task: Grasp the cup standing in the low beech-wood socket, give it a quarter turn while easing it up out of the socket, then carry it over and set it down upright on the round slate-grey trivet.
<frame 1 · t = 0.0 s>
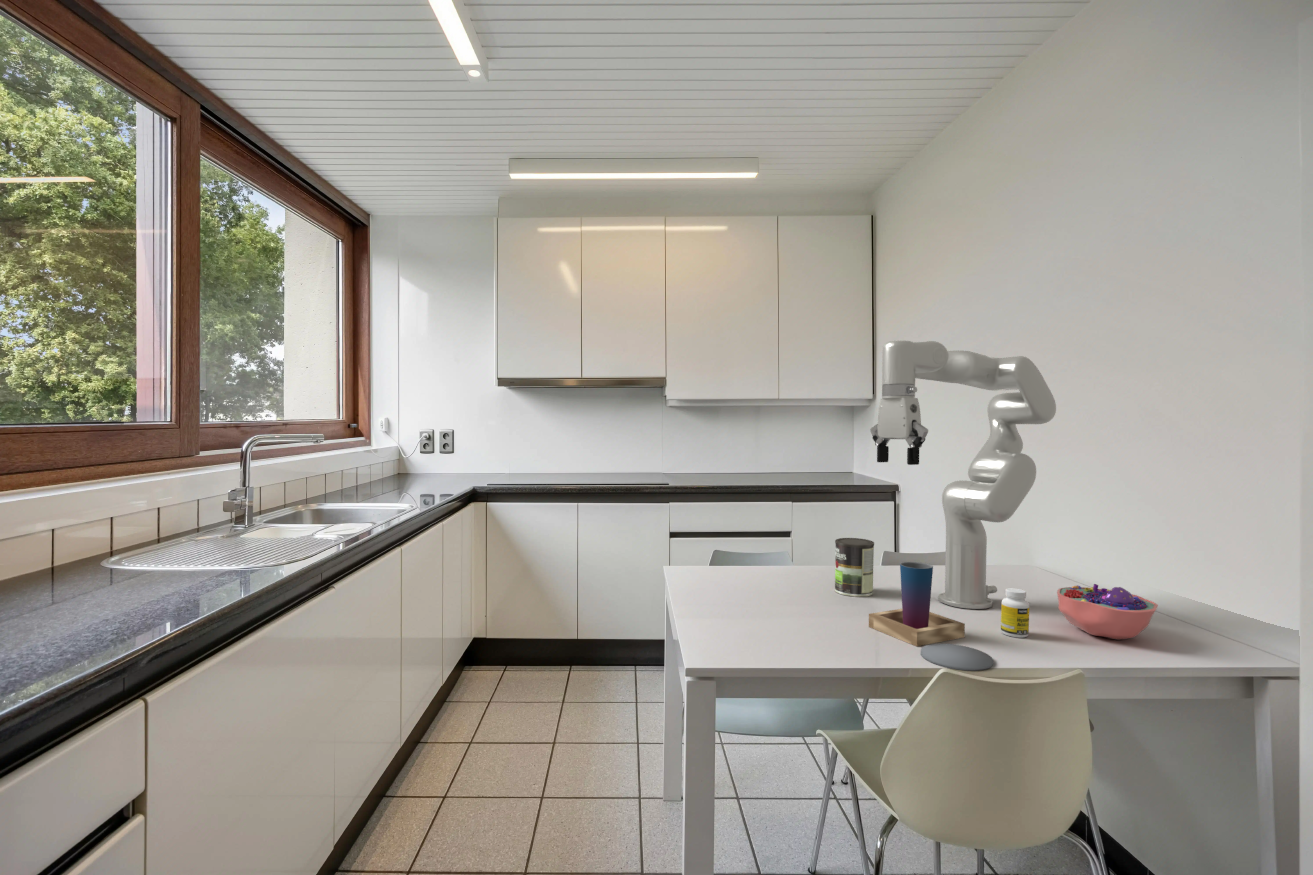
hand: (897, 463, 155), 37 cm above the table, tool pointing down, fingers open, 9 cm apart
trivet: (956, 657, 127), on the table
coffee can: (853, 592, 177), on the table
supplement bottle: (1014, 635, 142), on the table
cell model: (1103, 635, 142), on the table
cup: (915, 632, 143), resting in socket
socket: (915, 631, 143), on the table
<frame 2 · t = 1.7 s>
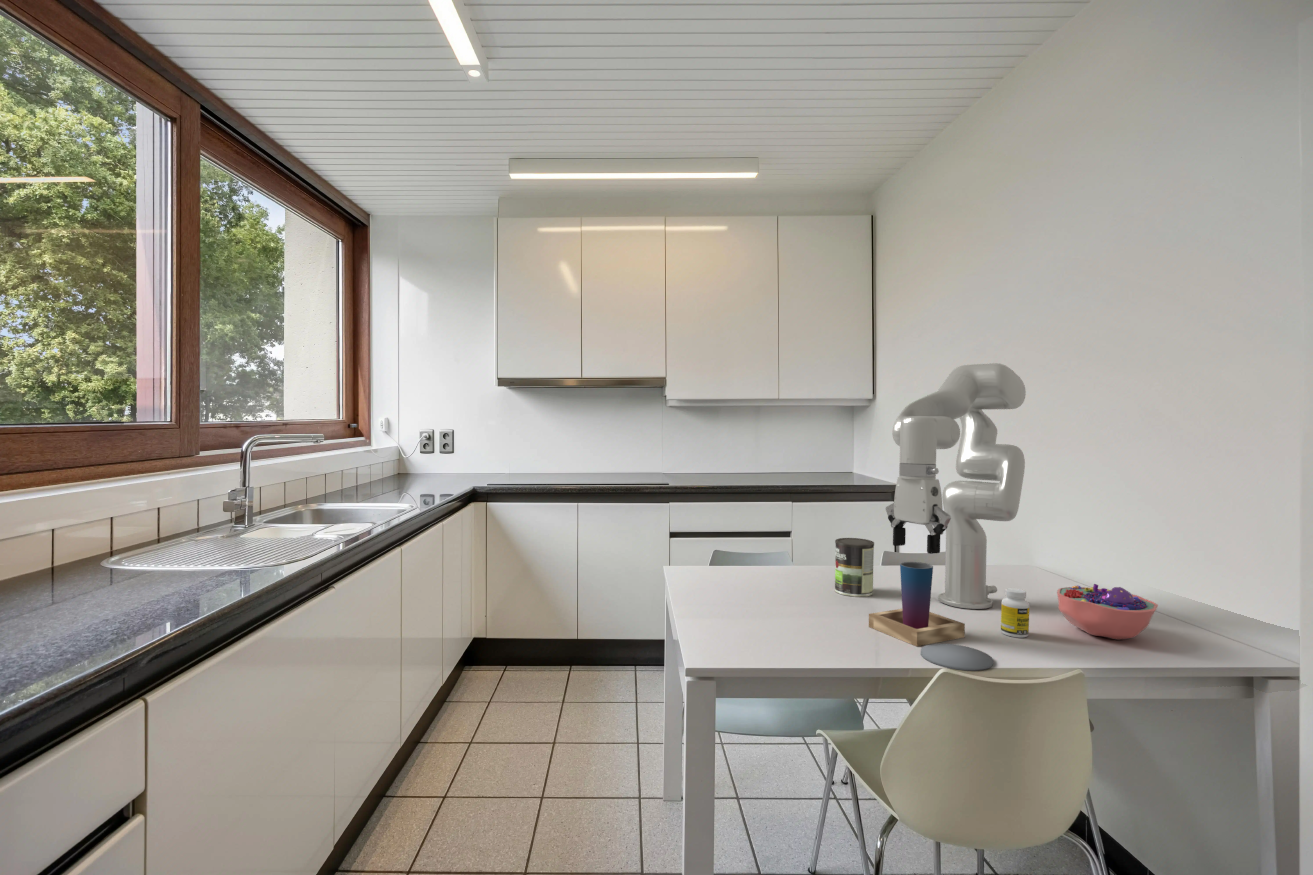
hand: (915, 549, 142), 19 cm above the table, tool pointing down, fingers open, 9 cm apart
nothing on the table moved.
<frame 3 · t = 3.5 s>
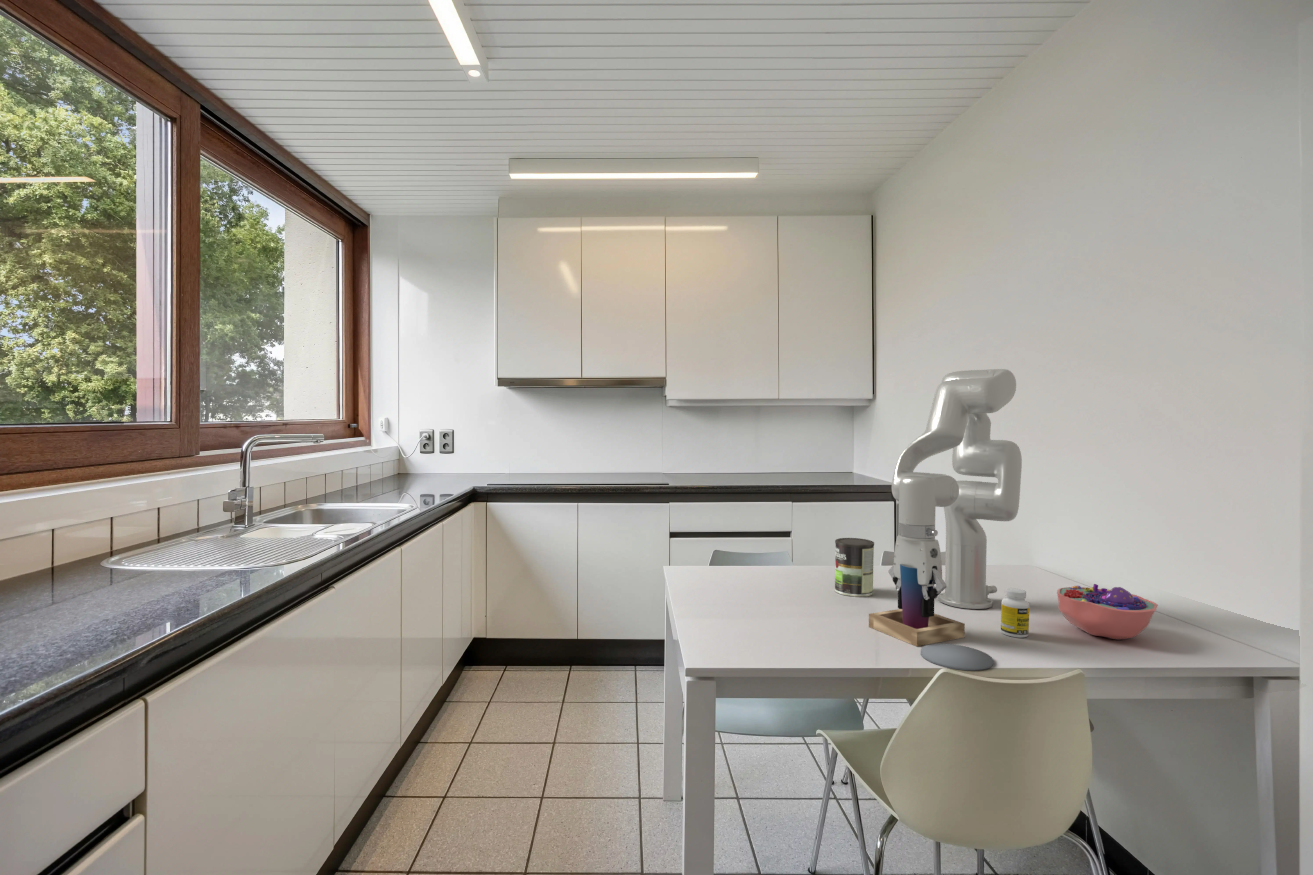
hand: (915, 611, 143), 5 cm above the table, tool pointing down, fingers closed on cup, 6 cm apart
cup: (915, 632, 143), resting in socket, touching gripper
everything else where it was.
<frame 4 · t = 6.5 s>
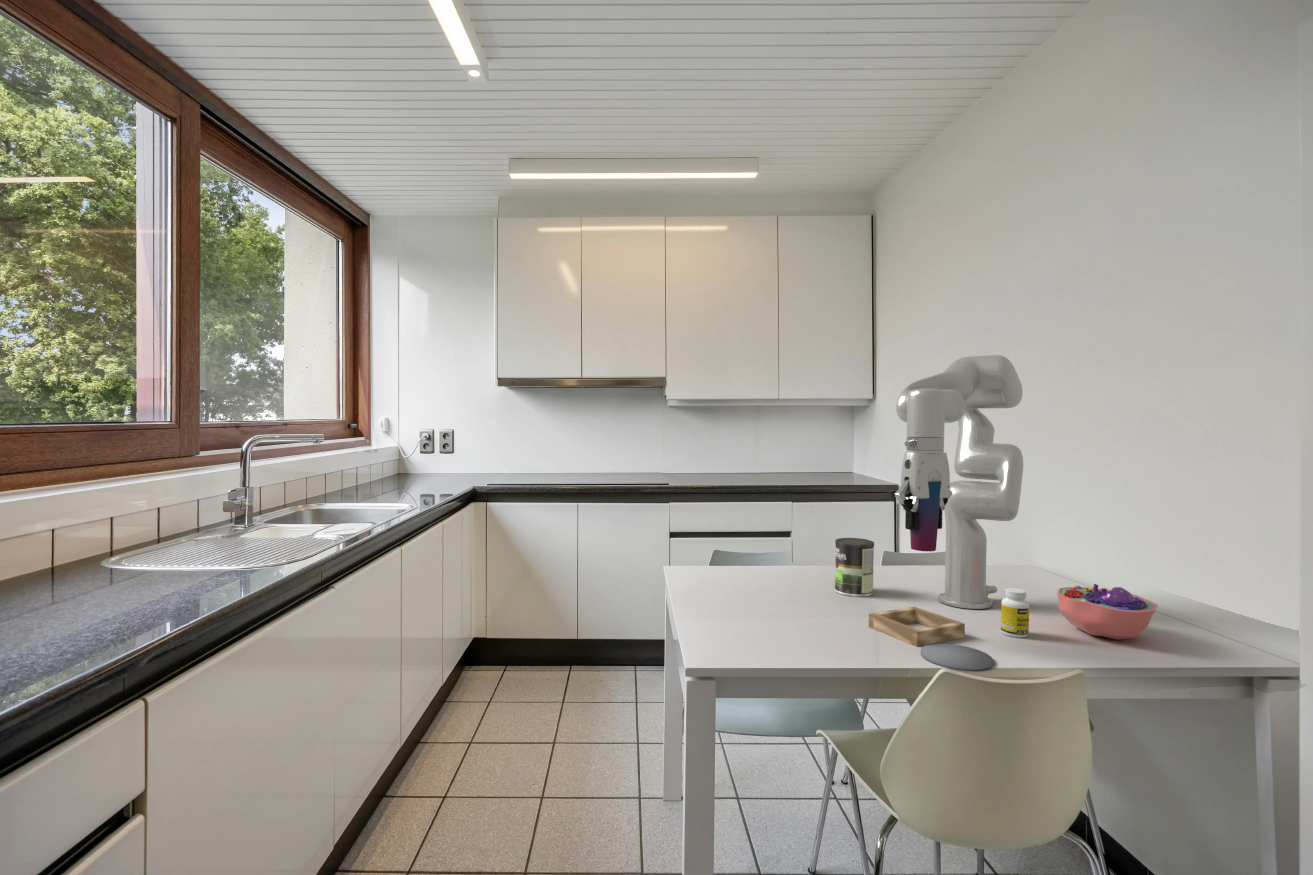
hand: (923, 528, 139), 24 cm above the table, tool pointing down, fingers closed on cup, 6 cm apart
cup: (923, 550, 139), point 19 cm above the table, touching gripper
everything else where it was.
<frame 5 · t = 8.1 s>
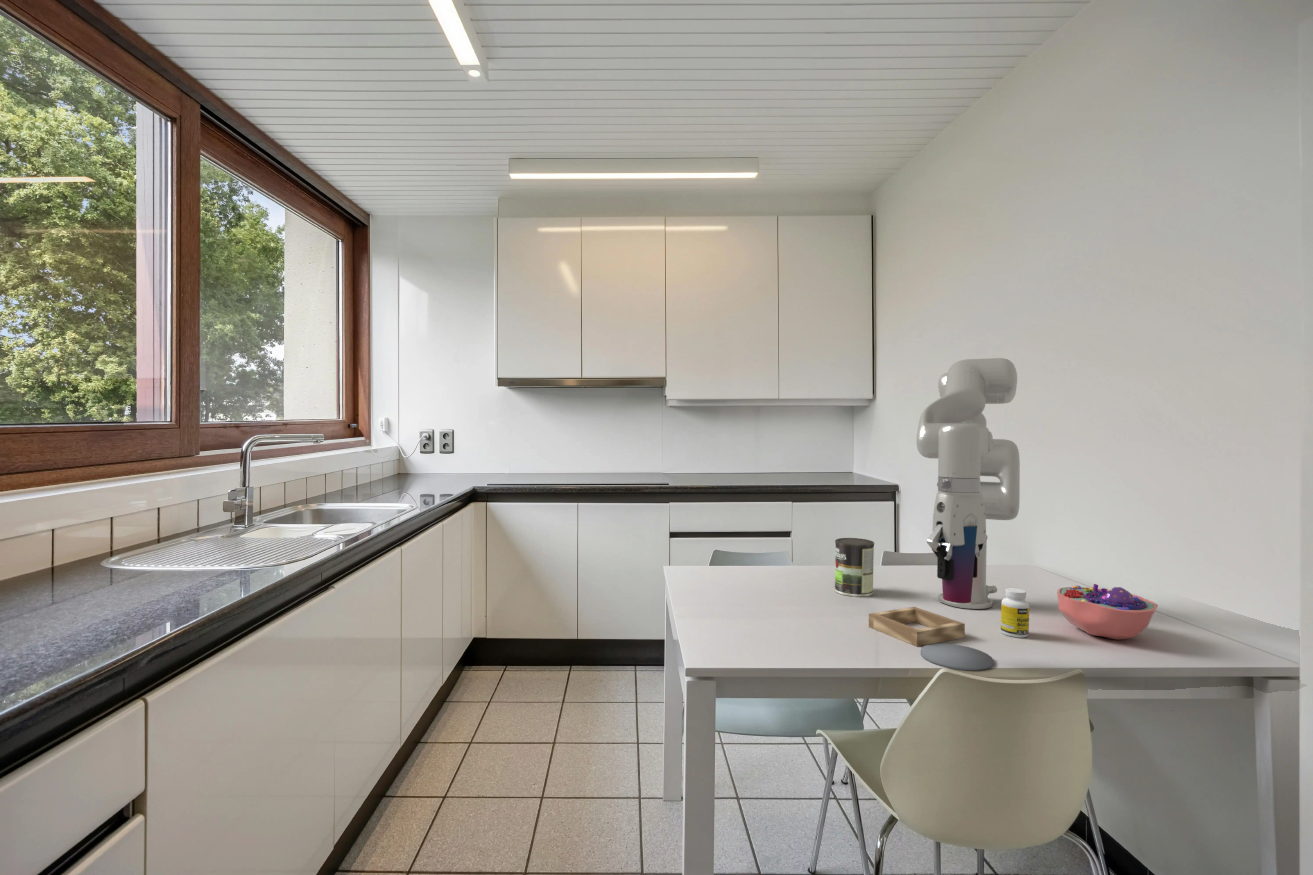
hand: (957, 576, 127), 16 cm above the table, tool pointing down, fingers closed on cup, 6 cm apart
cup: (956, 600, 127), point 11 cm above the table, touching gripper
everything else where it was.
when the fingers open (6 cm above the table, at t = 9.6 s): cup drops 1 cm, resting on trivet.
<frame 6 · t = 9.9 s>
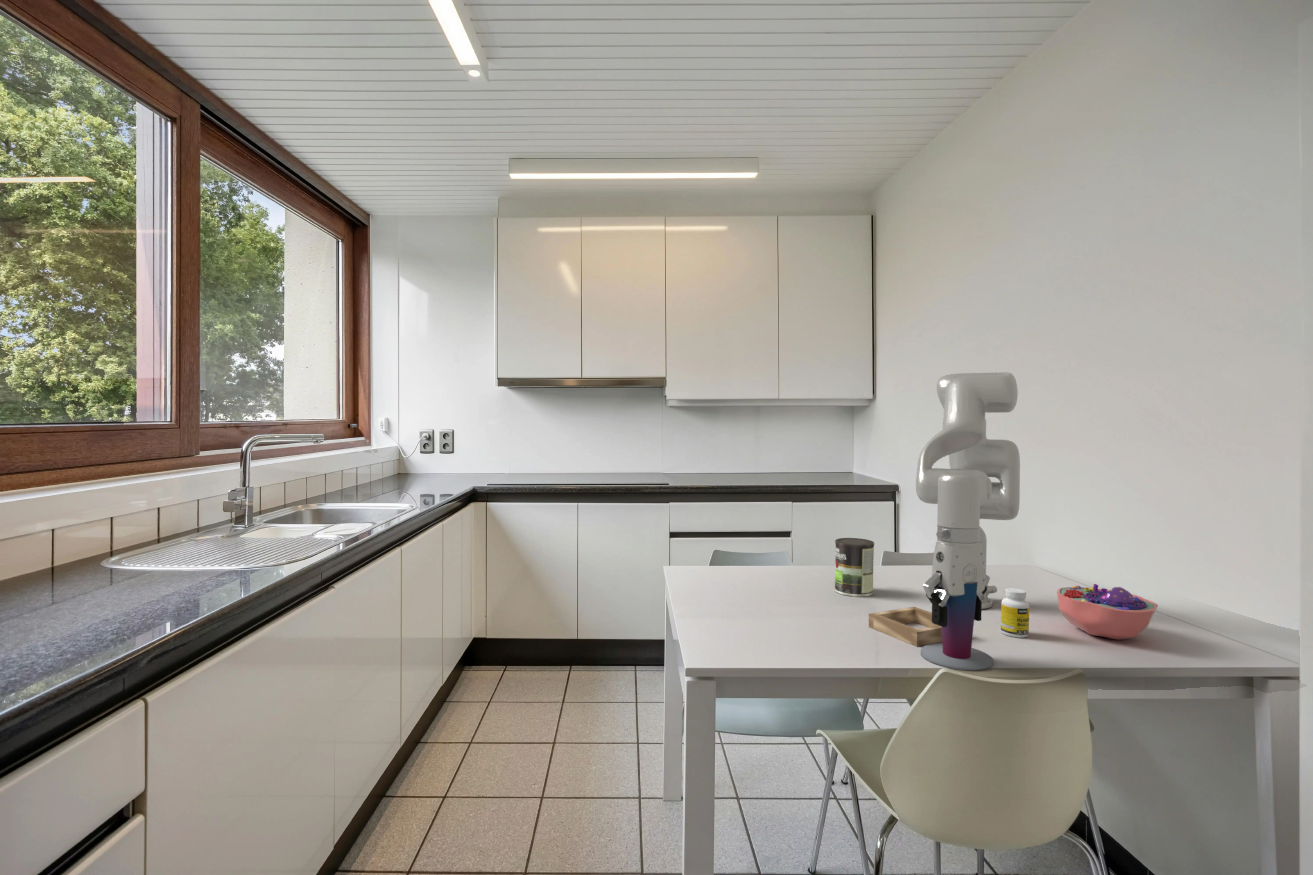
hand: (956, 621, 127), 7 cm above the table, tool pointing down, fingers open, 9 cm apart
cup: (956, 655, 127), resting on trivet
everything else where it was.
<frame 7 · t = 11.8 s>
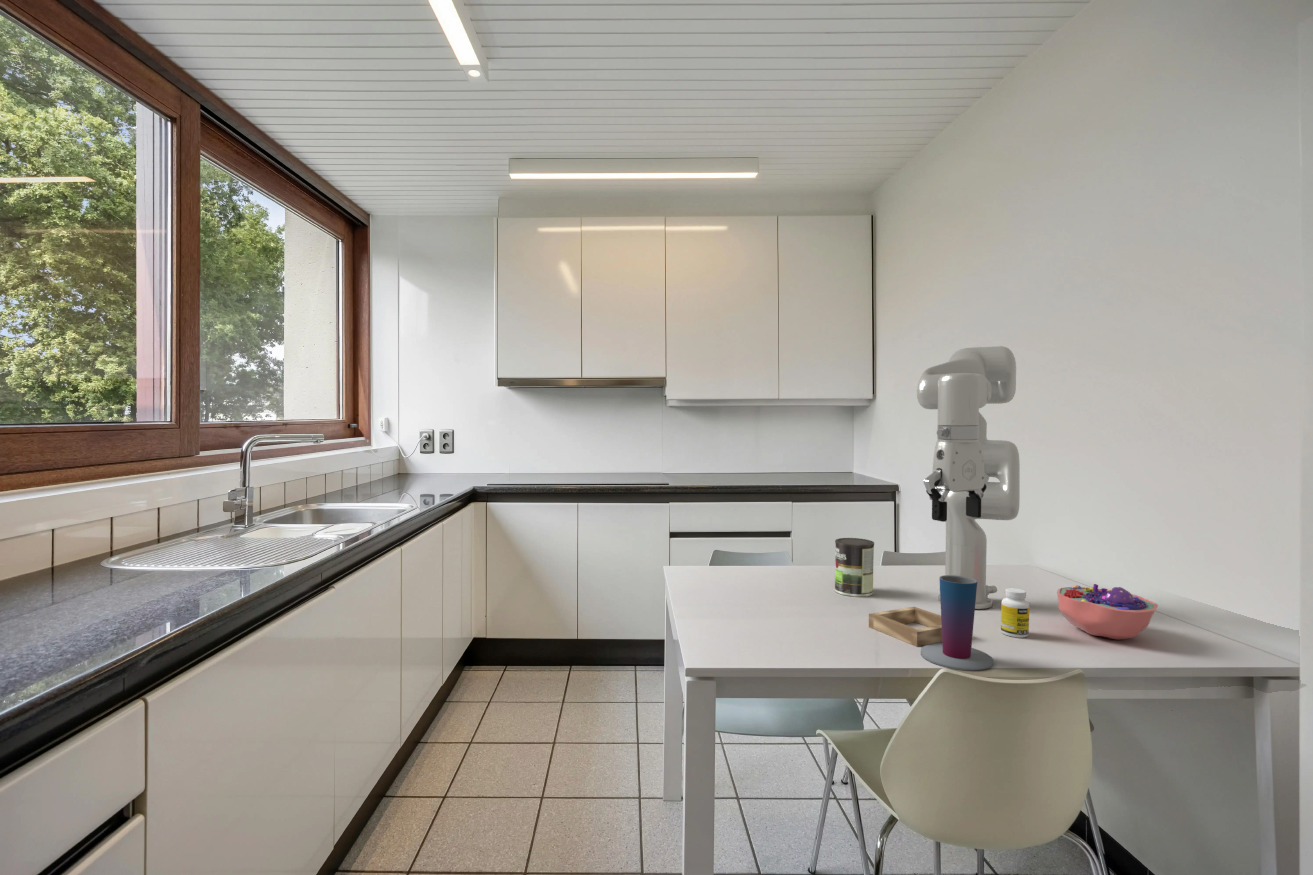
hand: (956, 518, 131), 27 cm above the table, tool pointing down, fingers open, 9 cm apart
nothing on the table moved.
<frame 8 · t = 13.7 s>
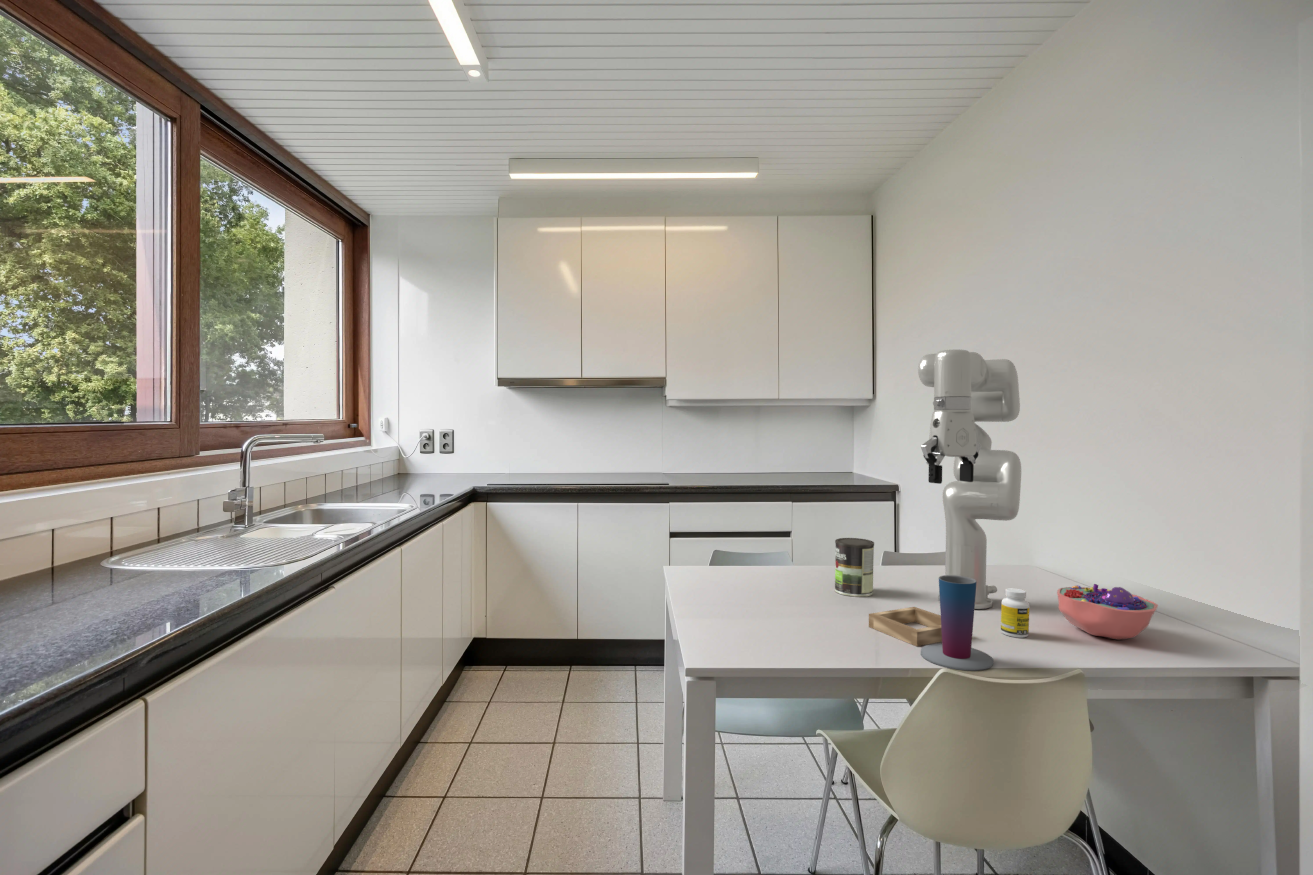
hand: (951, 482, 144), 33 cm above the table, tool pointing down, fingers open, 9 cm apart
nothing on the table moved.
at the end: cup inside the target area on the trivet (0.4 cm from its centre), point 0.4 cm above the trivet's base; cup tilted 0°; the gripper is holding nothing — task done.
